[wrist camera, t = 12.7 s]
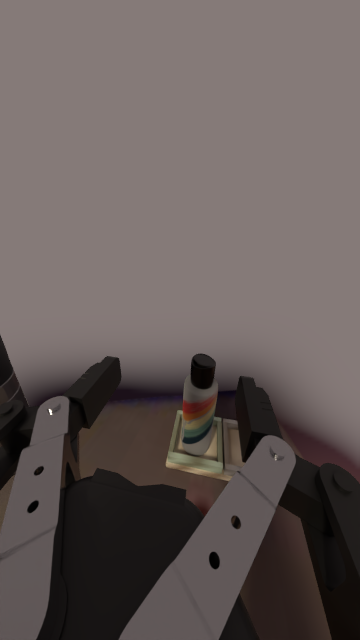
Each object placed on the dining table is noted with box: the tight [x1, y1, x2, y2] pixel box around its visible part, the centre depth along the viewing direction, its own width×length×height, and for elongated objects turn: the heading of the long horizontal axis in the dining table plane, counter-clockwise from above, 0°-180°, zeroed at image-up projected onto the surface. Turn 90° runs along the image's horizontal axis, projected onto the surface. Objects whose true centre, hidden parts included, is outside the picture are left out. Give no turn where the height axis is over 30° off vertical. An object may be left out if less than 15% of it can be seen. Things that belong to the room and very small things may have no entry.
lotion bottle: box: [181, 354, 218, 456], centre depth 32 cm, size 6×6×20 cm
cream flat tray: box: [166, 410, 245, 481], centre depth 35 cm, size 20×10×3 cm, turn 80°
